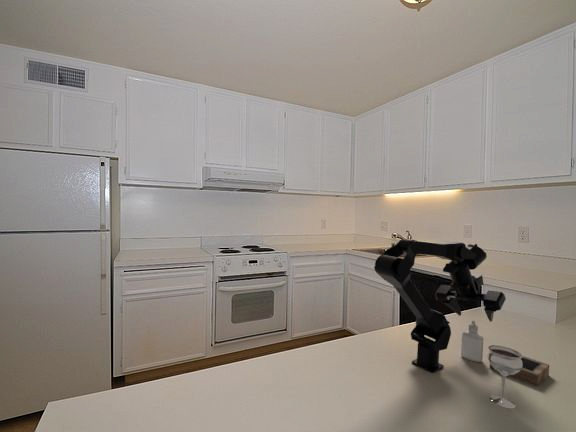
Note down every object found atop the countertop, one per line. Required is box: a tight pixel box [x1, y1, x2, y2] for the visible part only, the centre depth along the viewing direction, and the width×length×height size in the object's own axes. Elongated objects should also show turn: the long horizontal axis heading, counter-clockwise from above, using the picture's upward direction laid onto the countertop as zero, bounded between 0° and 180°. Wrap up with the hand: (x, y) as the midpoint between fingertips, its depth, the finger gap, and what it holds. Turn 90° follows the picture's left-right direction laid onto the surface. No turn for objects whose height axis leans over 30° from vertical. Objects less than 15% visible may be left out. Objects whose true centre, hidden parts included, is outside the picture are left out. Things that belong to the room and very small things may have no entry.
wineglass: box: [487, 344, 524, 409], centre depth 70 cm, size 7×7×12 cm
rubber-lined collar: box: [489, 355, 550, 387], centre depth 85 cm, size 11×11×3 cm
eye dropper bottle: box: [460, 319, 484, 363], centre depth 92 cm, size 4×6×12 cm
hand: (475, 317), depth 95 cm, fingers open, 9 cm apart
